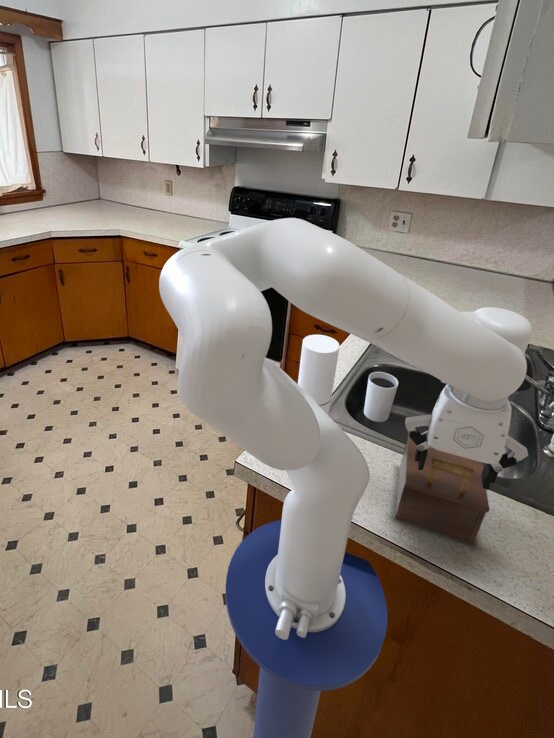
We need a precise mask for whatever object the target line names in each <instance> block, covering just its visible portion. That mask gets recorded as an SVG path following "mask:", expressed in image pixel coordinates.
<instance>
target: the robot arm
mask: <svg viewBox="0 0 554 738" xmlns="http://www.w3.org/2000/svg"><path fill="white" fill-rule="evenodd" d="M271 288H272V289H274V290H275V291H276V292H277V293H278V294H280V295H281V296H282V297H284V298H285V299H286V300H287V301H288V302H289V303H291V305H293V306H295V307H296V308H298V309H299V310H300V311H302V312H304V313H305V314H306V315H307V314H308V315H309V316H311V317H313V318H315V319H317V320H320V321H322V322H324V323H326V324H328V325H330V326H333V327H335V328H337V329H339V330H341V331H344V332H346V333H348V334H350V335H351V336H354V337H357V338H358V339H361V340H363V341H366V342H367V343H369V344H370V345H373V346H375V347H377V348H379V349H381V350H382V351H384V352H386V353H387V354H389V355H391V356H393V357H394V358H397V359H398V360H400V361H402V362H405V363H407V364H409V365H410V366H412V367H415V368H417V369H419V370H421V371H423V372H425V373H427V374H428V375H431V376H432V377H434V378H436V379H438V380H439V381H440V383H443V384H445V386H444V387H443V389H442V391H440V394H439V396H438V398H437V400H436V403H435V405H434V407H433V409H432V412H431V414H424V415H416V416H407V417H405V419H404V425H405V428H406V431H407V432H408V434H409V437H410V438H411V439H412V440H413V442H414V443H415V444H416V445H417V449H416V453H415V461H417V462H418V470H423V468H424V464H425V461H426V457H427V449H428V448H430V447H432V448H434V449H436V450H439V451H442V452H446V453H449V454H453V455H457V456H460V457H464V458H468V459H471V460H475V461H479V462H482V464H483V463H484V465H483V471H482V474H481V479H482V486H483V488H484V489H486V491H488V490H489V489H490V486H491V484H495V482H496V480H497V478H498V475H499V473H502V472H504V469H507V468H511V467H515V466H516V465H518V462H521V461H522V460H524V459H526V458H527V457H529V452H528V448H527V447H526V446H525V445H523V444H521V443H520V442H519V441H517V440H516V439H514V438H513V437H512V436H510V435H509V431H510V426H511V420H512V412H513V411H512V408H513V407H512V405H511V403H510V401H509V398H510V396H511V395H512V394H514V393H515V392H516V391H517V390H518V389H519V388H520V387H521V386H522V384H523V383H524V381H525V379H526V376H527V371H528V364H527V359H526V356H525V353H526V350H527V348H528V345H529V343H530V341H531V337H532V333H533V328H532V327H533V326H532V324H531V322H530V321H529V320H528V319H527V318H526V317H525V316H524V315H521V314H520V313H518V312H516V311H513V310H509V309H506V308H501V307H493V306H491V307H490V306H487V307H481V308H478V309H477V310H474V311H459V310H458V309H456V308H455V307H453V306H452V305H450V304H449V303H447V302H446V301H445V300H443V299H442V298H440V297H438V296H437V295H436V294H434V293H432V292H431V291H429V290H428V289H426V288H424V287H422V285H420V284H418V283H416V282H415V281H413V280H411V279H409V278H408V277H407V276H405V275H404V274H402V273H400V272H398V271H397V270H396V269H394V268H392V267H390V266H389V265H388V264H386V263H385V262H382V261H381V260H379V259H378V258H377V257H374V256H373V255H371V254H370V253H368V252H367V251H365V250H364V249H362V248H360V247H359V246H357V245H356V244H354V243H353V242H351V241H350V240H348V239H346V238H345V237H342V236H340V235H338V234H336V233H333V232H331V231H330V230H329V231H328V230H326V229H324V228H322V227H319V226H317V225H316V224H312V223H311V222H309V221H306V220H305V219H303V218H296V217H286V218H285V217H284V218H277V219H273V220H268V221H265V222H262V223H261V222H260V223H258V224H255V225H254V224H253V225H252V226H248V227H245V228H240V229H238V230H234V231H232V232H228V233H225V234H222V235H218V236H215V237H212V238H208V239H205V240H202V241H199V242H195V243H193V244H190V245H187V246H185V247H183V248H182V249H180V250H178V251H176V253H174V254H173V255H172V256H171V257H170V258H169V259H168V260H167V261H166V263H165V264H164V265H163V268H162V269H161V272H160V274H159V281H158V290H159V294H160V295H159V296H160V298H161V301H162V303H163V305H164V307H165V309H166V311H167V312H168V314H169V316H170V317H171V319H172V321H173V322H174V324H175V326H176V328H177V330H178V332H179V333H180V335H181V337H182V340H183V349H182V356H181V360H180V366H179V370H178V376H177V389H178V394H179V397H180V399H181V402H182V403H183V405H184V406H185V408H187V409H188V411H189V412H190V413H191V414H193V416H195V417H197V418H198V419H200V420H201V421H203V422H204V423H205V424H207V425H209V426H210V427H212V428H213V429H215V430H216V431H218V432H219V433H220V434H221V435H222V436H224V437H225V438H227V440H229V441H230V442H231V443H234V444H235V445H236V446H238V447H239V448H241V449H242V450H243V451H245V452H246V453H247V454H250V455H251V456H252V457H254V458H255V459H256V460H258V461H259V462H261V463H262V464H264V465H266V466H267V467H270V468H272V469H276V470H279V471H284V472H285V473H286V474H287V476H288V478H289V479H290V481H291V483H292V486H293V489H291V490H290V491H289V492H288V493H287V494H286V497H285V498H284V501H283V506H282V513H281V520H282V522H281V531H280V540H279V549H278V555H276V557H275V558H274V559H273V560H272V561H271V563H270V564H269V566H268V569H267V572H266V578H265V589H266V595H267V598H268V601H269V603H270V605H271V607H272V609H273V611H274V612H275V613H276V614H277V616H278V617H279V620H278V623H277V627H276V630H275V634H276V635H277V636H278V637H279V638H281V639H283V640H287V639H288V637H289V633H290V629H291V627H293V628H295V629H297V635H298V636H300V637H302V638H305V637H306V634H307V632H319V631H323V630H326V629H328V628H330V627H331V626H332V625H334V624H335V623H336V622H337V621H338V619H339V618H340V616H341V614H342V612H343V609H344V605H345V599H346V592H345V586H344V582H343V579H342V577H341V575H340V573H341V568H342V563H343V559H344V554H345V552H346V548H347V544H348V539H349V536H350V535H349V534H350V529H351V525H352V520H353V517H354V514H355V512H356V509H357V506H358V505H359V503H360V501H361V499H362V497H363V495H364V494H365V492H366V490H367V488H368V486H369V483H370V477H371V476H370V468H369V465H368V462H367V460H366V458H365V456H364V455H363V453H362V452H361V450H360V449H359V448H358V446H357V445H356V444H355V442H354V441H353V440H352V439H351V437H349V435H348V434H347V433H346V432H345V431H344V430H343V428H341V427H340V426H339V424H337V422H335V421H334V419H333V418H331V416H330V414H329V415H328V414H327V413H326V412H325V411H324V410H323V409H322V408H321V407H320V406H319V405H318V403H317V402H316V401H315V400H314V399H313V398H312V397H311V396H310V395H309V394H308V393H306V392H305V391H304V390H303V389H302V388H301V387H300V386H299V385H298V382H296V381H295V380H293V379H292V378H291V377H290V375H288V374H287V373H286V372H285V371H284V370H283V369H282V368H281V367H280V366H279V365H277V364H276V363H275V362H274V361H272V360H271V359H269V358H267V357H266V356H267V355H268V351H269V349H270V345H271V342H272V335H273V319H272V315H271V310H270V307H269V304H268V302H267V300H266V298H265V296H264V294H263V293H262V292H263V291H265V290H268V289H271ZM419 427H420V428H421V427H428V430H425V431H423V432H422V433H421V432H420V431H419V429H418V428H419ZM505 448H507V449H508V450H510V451H509V452H505V453H504V450H505ZM270 590H271V591H270ZM331 617H332V618H331ZM294 621H296V622H297V623H296V622H294Z"/></svg>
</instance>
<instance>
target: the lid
mask: <svg viewBox="0 0 554 738" xmlns="http://www.w3.org/2000/svg"><path fill="white" fill-rule="evenodd" d="M407 438H408V443H407V459H406V475H405V487H409V488H412V489H415V490H418V491H421V492H424V493H428V494H431V495H434V496H437V497H440V498H444V499H447V500H450V501H453V502H456V503H459V504H463V505H466V506H469V507H472V508H475V509H478V510H482V511H485V512H486V513H489V511H490V506H489V505H490V504H489V496H488V490H487V489H484V488H483V486H482V479H481V474H482V471H483V468H484V465H483V462H479V461H475V460H471V459H468V458H464V457H460V456H457V455H453V454H449V453H446V452H442V451H439V450H436V449H434V448H432V447H430V448H428V449H427V457H426V461H425V464H424V468H423V470H418V462H417V461H415V453H416V449H417V445H416V444H415V443H414V442H413V440H412V439H411V438H410V437H409V433H408V434H407Z"/></svg>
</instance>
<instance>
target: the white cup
mask: <svg viewBox="0 0 554 738" xmlns="http://www.w3.org/2000/svg"><path fill="white" fill-rule="evenodd" d="M398 387H399V380H398V378H397V377H395V376H394V375H392V374H390V373H387V372H384V371H374V372H371V373H370V374H369V375H368V379H367V387H366V393H365V401H364V406H363V415H364V416H365V418H367V419H368V420H370V421H372V422H376V423H383V422H387V420H388V419H389V418H390V413H391V410H392V406H393V403H394V399H395V397H396V393H397V390H398Z"/></svg>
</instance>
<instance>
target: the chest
mask: <svg viewBox="0 0 554 738" xmlns="http://www.w3.org/2000/svg"><path fill="white" fill-rule="evenodd" d="M407 443H408V437H407V438H406V441H405V445H404V450H403V454H402V456H401V461H400V465H399V469H398V478H397V490H396V502H395V503H396V504H395V505H396V506H395V515H394V519H395V520H399V521H402V522H405V523H407V524H411V525H413V526H416V527H419V528H422V529H425V530H427V531H431V532H433V533H437V534H439V535H442V536H445V537H448V538H452V539H454V540H458V541H460V542H463V543H466V544H469V545H474V543H475V541H476V538H477V536H478V533H479V531H480V529H481V526H482V524H483V521H484V519H485V516H486V514H487V512H485V511H482V510H478V509H475V508H472V507H469V506H466V505H463V504H459V503H456V502H453V501H450V500H447V499H444V498H440V497H437V496H434V495H431V494H428V493H424V492H421V491H418V490H415V489H412V488H409V487H405V475H406V459H407Z"/></svg>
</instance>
